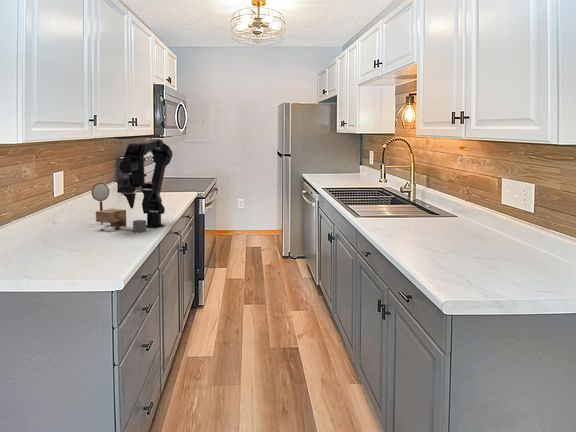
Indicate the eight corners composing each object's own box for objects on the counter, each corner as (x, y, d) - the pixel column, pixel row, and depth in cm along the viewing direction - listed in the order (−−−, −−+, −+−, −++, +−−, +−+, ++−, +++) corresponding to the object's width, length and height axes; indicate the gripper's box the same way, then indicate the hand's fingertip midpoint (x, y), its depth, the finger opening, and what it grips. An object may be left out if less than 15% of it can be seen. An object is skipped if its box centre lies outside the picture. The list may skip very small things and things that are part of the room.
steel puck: (109, 229, 247) (109, 224, 246) (118, 230, 244) (117, 225, 244) (101, 231, 242) (101, 226, 242) (110, 232, 240) (109, 227, 240)
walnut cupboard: (113, 226, 253) (112, 208, 252) (126, 228, 250) (125, 209, 249) (96, 230, 244) (95, 211, 243) (109, 231, 240) (108, 212, 239)
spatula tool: (124, 229, 248) (123, 218, 248) (146, 231, 243) (146, 220, 242) (117, 230, 245) (117, 219, 244) (140, 232, 239) (139, 221, 239)
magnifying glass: (109, 223, 263) (108, 182, 259) (111, 223, 261) (109, 182, 258) (92, 225, 257) (90, 183, 254) (93, 225, 256) (91, 183, 252)
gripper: (137, 169, 250) (139, 203, 252) (108, 172, 233) (109, 208, 236) (157, 170, 245) (158, 204, 247) (128, 173, 228) (129, 210, 231)
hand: (138, 207), depth 240 cm, fingers open, 9 cm apart
